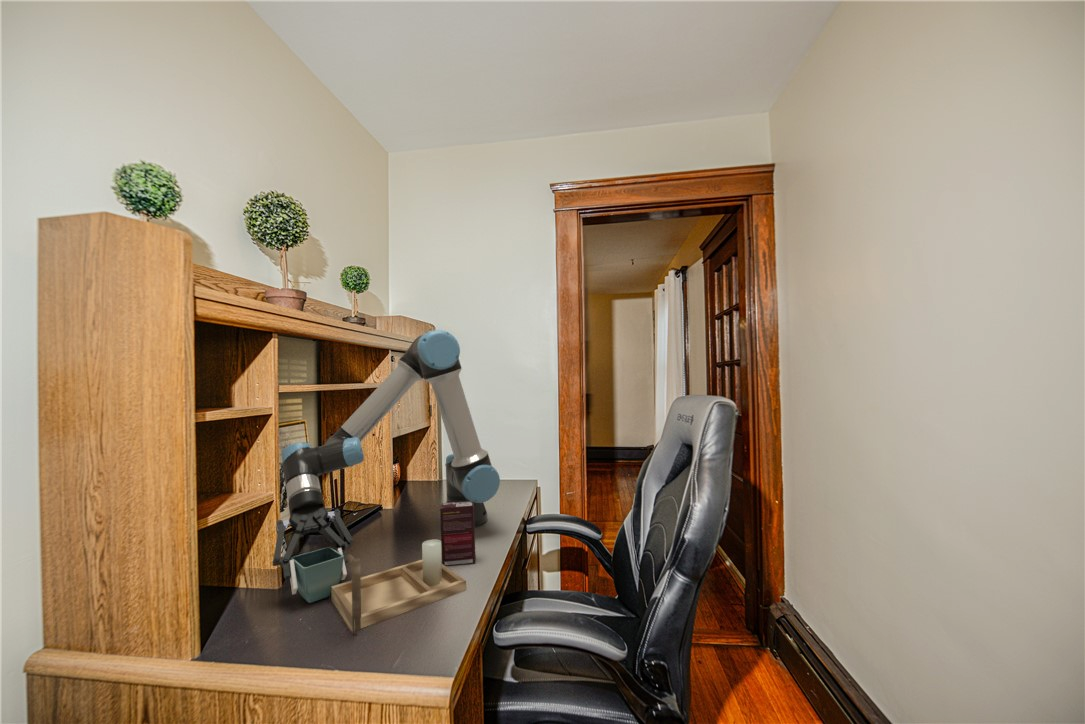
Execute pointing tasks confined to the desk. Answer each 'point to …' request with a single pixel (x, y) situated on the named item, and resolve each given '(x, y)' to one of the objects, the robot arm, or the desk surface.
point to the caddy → (389, 592)
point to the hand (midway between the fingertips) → (320, 583)
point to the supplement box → (457, 533)
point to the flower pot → (318, 573)
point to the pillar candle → (432, 562)
